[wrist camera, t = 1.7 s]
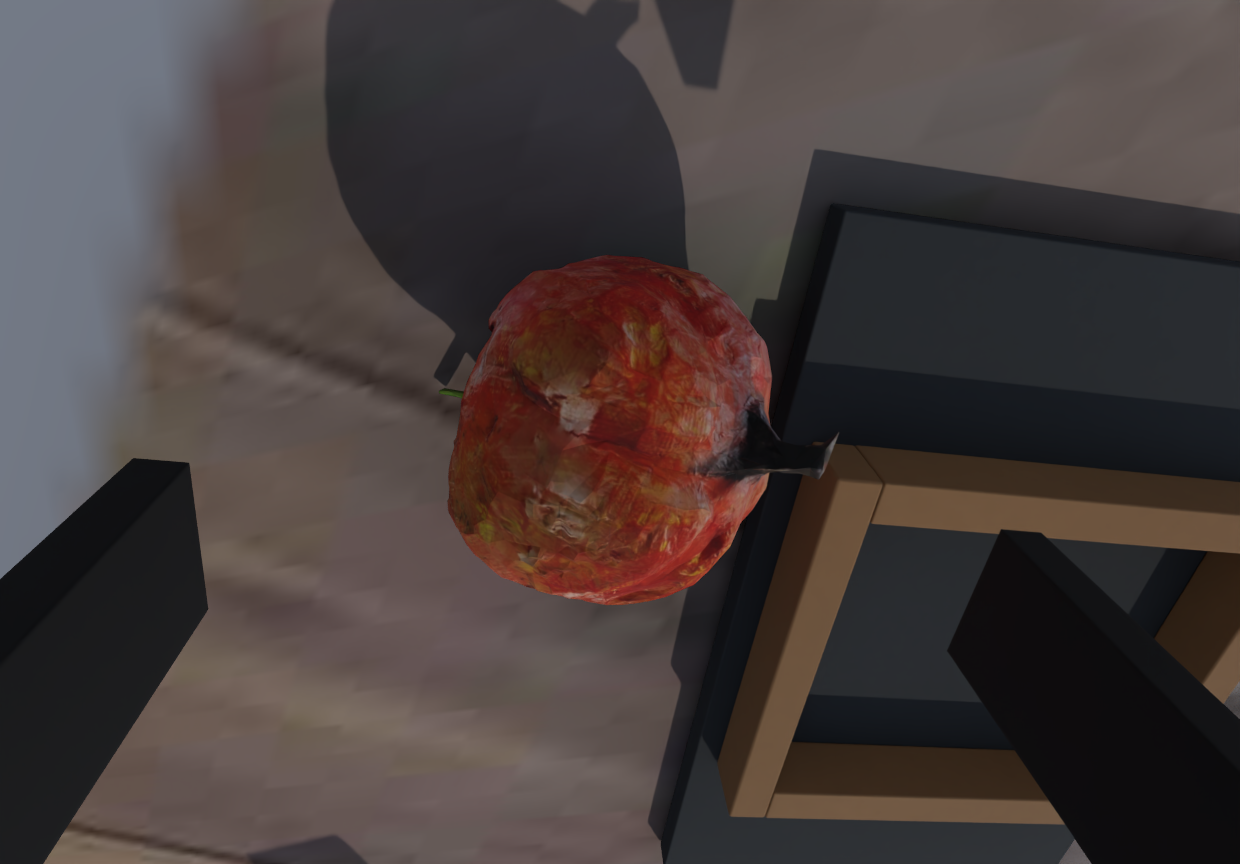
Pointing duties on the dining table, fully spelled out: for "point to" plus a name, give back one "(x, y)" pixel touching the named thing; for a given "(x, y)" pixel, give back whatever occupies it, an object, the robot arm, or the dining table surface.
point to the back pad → (958, 530)
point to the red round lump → (615, 432)
